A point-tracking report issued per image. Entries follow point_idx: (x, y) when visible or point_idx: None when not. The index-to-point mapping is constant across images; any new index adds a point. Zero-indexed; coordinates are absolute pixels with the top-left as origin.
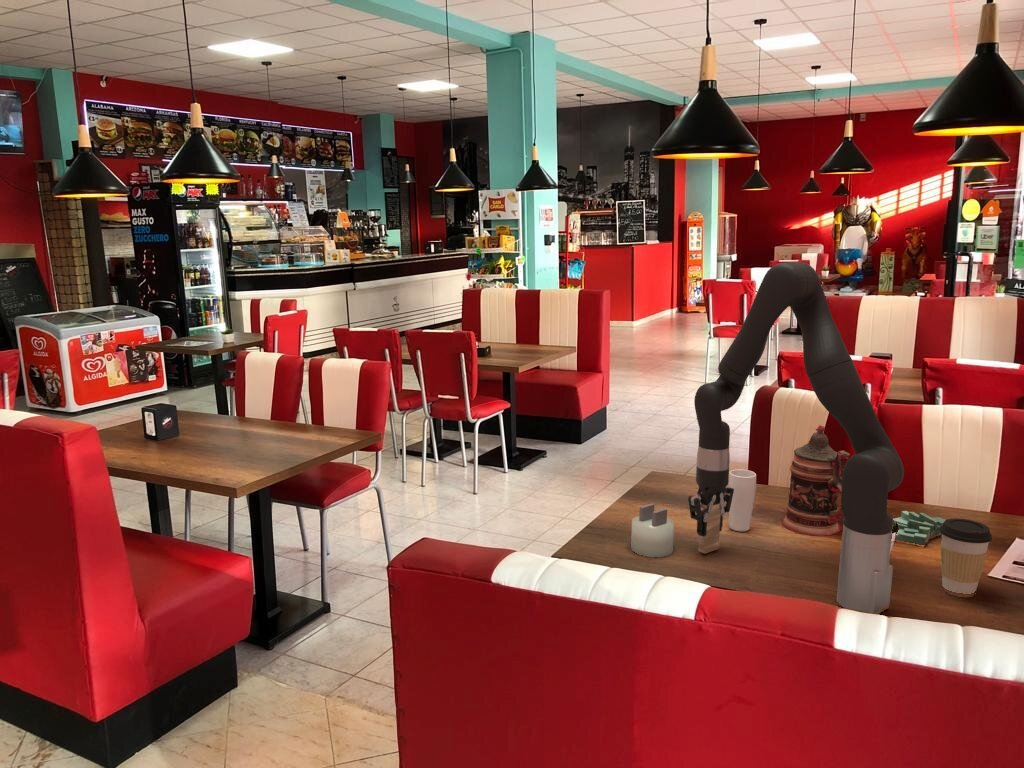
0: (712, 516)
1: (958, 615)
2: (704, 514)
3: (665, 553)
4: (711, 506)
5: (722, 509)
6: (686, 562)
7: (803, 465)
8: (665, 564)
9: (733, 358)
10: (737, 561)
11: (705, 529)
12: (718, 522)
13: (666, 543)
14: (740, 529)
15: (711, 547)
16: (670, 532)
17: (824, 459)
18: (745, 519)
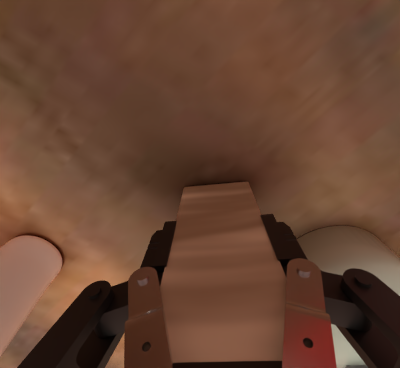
0: (231, 280)
1: None
2: (324, 304)
3: (348, 231)
4: (299, 357)
5: (143, 305)
6: (333, 170)
7: None
8: (393, 189)
9: None
10: (190, 91)
11: (276, 231)
12: (181, 247)
13: (366, 252)
14: (43, 243)
15: (219, 189)
16: None
17: None
18: (4, 261)
